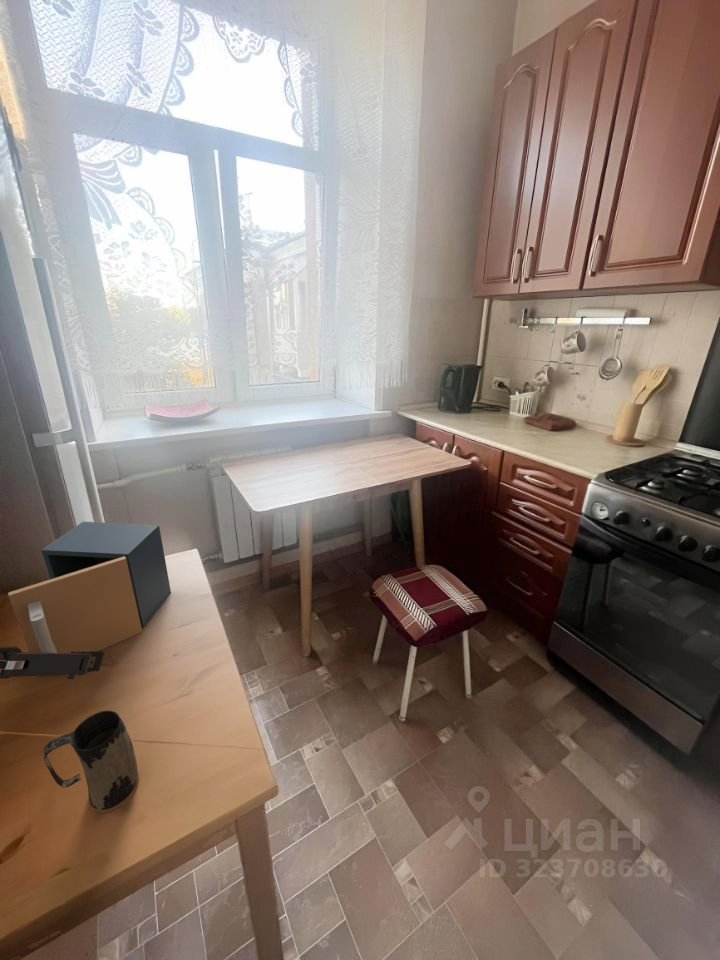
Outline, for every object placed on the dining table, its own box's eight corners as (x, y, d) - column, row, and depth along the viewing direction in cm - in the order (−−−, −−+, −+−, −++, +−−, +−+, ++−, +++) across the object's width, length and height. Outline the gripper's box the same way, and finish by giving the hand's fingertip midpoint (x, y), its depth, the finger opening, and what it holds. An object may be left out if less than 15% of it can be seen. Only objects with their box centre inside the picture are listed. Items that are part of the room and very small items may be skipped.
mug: (135, 756, 54) (118, 694, 50) (145, 791, 51) (127, 727, 46) (66, 795, 50) (40, 730, 45) (70, 837, 46) (42, 770, 41)
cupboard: (143, 628, 77) (127, 554, 71) (64, 624, 77) (40, 549, 71) (171, 592, 87) (159, 525, 81) (100, 589, 87) (83, 521, 81)
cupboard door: (150, 648, 72) (134, 572, 66) (42, 698, 62) (10, 614, 56) (140, 629, 76) (124, 556, 70) (37, 673, 66) (8, 592, 60)
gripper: (-235, 699, 39) (-36, 681, 58) (12, 713, 38) (129, 690, 58) (-190, 619, 42) (-15, 628, 61) (40, 631, 41) (142, 636, 61)
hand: (55, 658), depth 60 cm, fingers open, 13 cm apart
